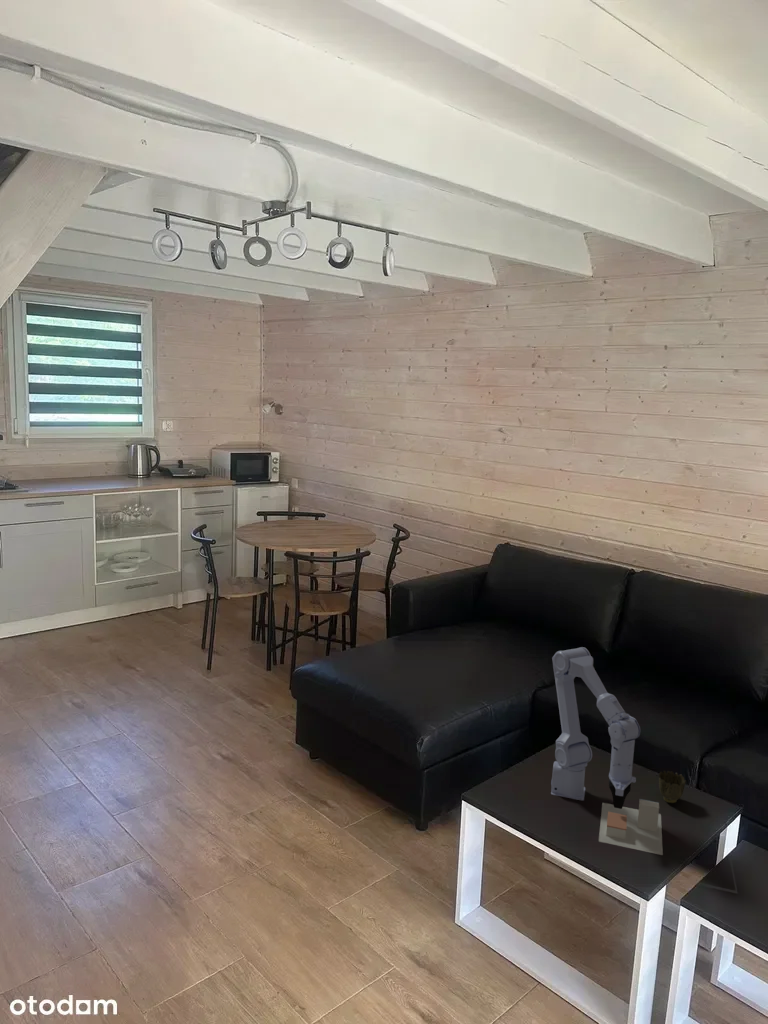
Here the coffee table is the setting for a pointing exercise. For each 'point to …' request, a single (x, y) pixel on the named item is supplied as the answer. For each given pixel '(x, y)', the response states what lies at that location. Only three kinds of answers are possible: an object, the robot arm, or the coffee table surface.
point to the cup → (671, 786)
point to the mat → (632, 831)
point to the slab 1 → (616, 825)
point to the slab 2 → (648, 815)
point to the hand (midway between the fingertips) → (617, 806)
